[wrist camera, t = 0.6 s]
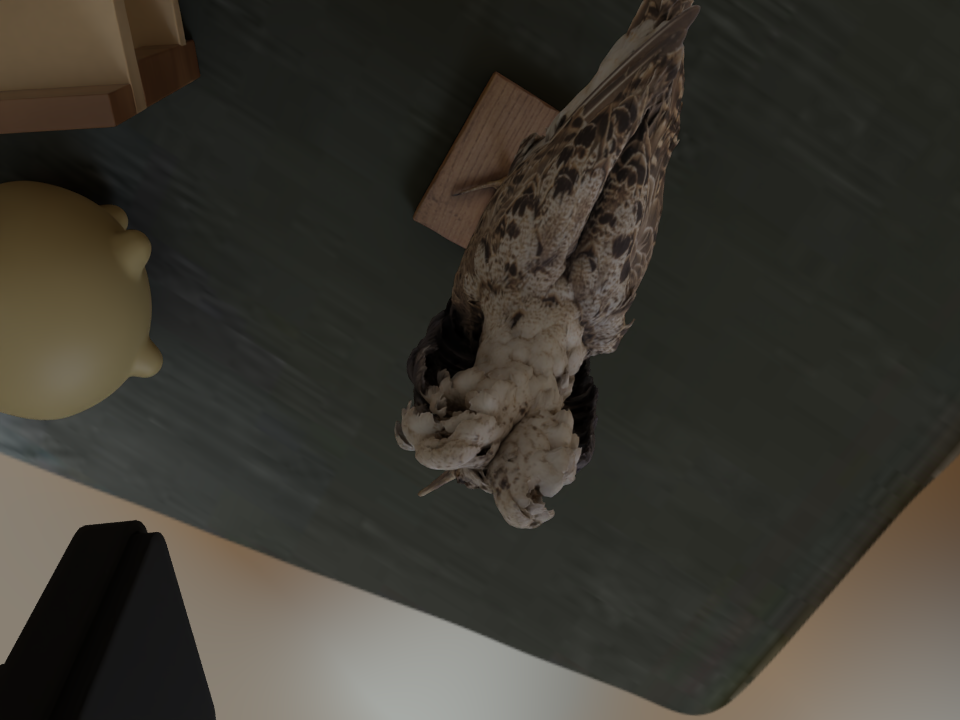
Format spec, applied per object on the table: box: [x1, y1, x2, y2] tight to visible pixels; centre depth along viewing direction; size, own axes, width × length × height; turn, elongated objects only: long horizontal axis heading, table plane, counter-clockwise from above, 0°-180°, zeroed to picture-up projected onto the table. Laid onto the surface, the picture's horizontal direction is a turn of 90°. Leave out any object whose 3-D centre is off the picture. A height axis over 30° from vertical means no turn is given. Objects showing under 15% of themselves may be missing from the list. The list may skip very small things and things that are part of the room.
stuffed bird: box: [394, 0, 701, 528], centre depth 32 cm, size 10×20×17 cm, turn 168°
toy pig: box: [0, 181, 163, 420], centre depth 36 cm, size 10×12×11 cm
